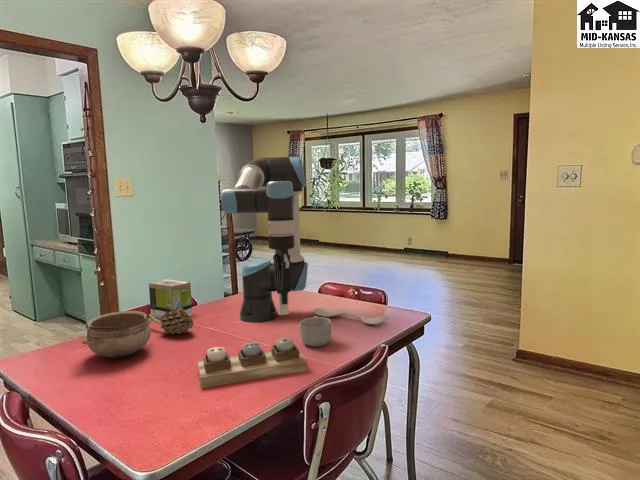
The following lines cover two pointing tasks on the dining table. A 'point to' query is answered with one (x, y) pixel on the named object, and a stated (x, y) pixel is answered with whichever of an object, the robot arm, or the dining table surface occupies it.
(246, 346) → the button three
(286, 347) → the button one
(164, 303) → the tea box
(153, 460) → the dining table surface
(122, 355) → the cooking pot
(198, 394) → the dining table surface
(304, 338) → the teacup
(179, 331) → the pine cone
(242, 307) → the robot arm
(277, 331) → the dining table surface
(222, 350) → the button two
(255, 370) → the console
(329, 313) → the spoon
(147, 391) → the dining table surface
